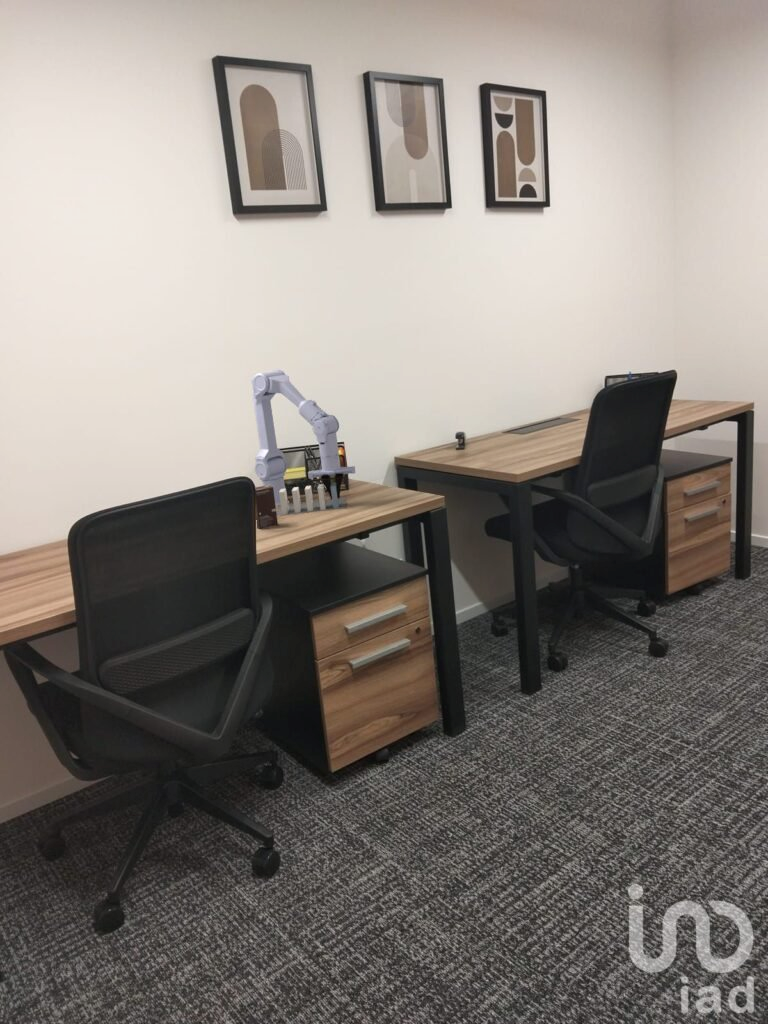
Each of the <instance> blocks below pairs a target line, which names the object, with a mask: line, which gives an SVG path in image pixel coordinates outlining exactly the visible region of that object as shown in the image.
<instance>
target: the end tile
mask: <svg viewBox="0 0 768 1024" xmlns="http://www.w3.org/2000/svg"><path fill="white" fill-rule="evenodd" d="M330 487H331V494H332V502H333V508H339V498H338V497H337V487H336V482H331V486H330Z"/></svg>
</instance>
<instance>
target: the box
mask: <svg viewBox="0 0 768 1024" xmlns="http://www.w3.org/2000/svg"><path fill="white" fill-rule="evenodd" d="M255 488H256V520H257V528H256V529H257V530H264V529H268V528H272V527H275V526H278V525H279V523H278V516H277V508H276V505H275V497H274V489H273V487H272V486H269V485H266V486H263V485H261V486H257V487H255Z"/></svg>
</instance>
